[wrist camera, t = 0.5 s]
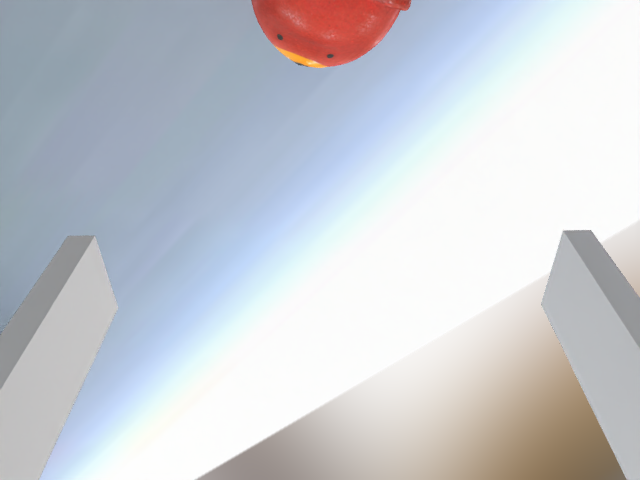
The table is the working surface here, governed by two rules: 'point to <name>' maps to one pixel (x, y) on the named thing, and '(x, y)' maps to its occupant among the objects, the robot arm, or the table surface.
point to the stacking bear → (326, 27)
